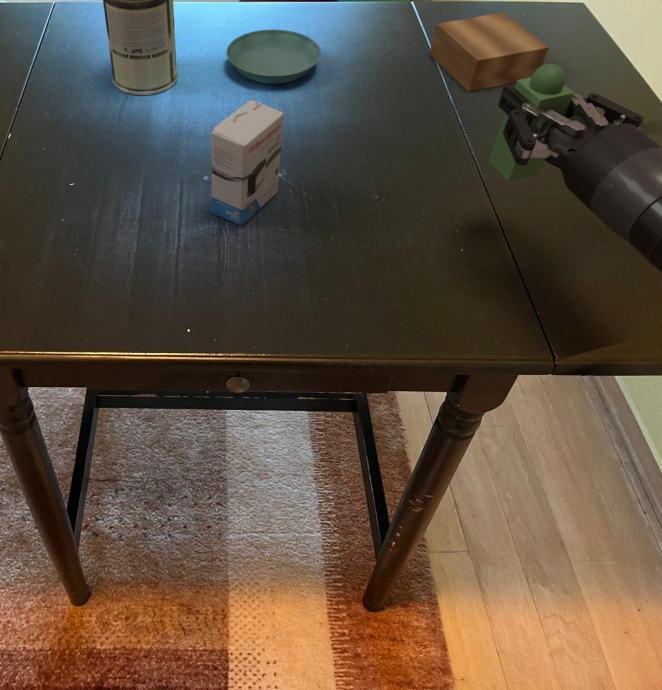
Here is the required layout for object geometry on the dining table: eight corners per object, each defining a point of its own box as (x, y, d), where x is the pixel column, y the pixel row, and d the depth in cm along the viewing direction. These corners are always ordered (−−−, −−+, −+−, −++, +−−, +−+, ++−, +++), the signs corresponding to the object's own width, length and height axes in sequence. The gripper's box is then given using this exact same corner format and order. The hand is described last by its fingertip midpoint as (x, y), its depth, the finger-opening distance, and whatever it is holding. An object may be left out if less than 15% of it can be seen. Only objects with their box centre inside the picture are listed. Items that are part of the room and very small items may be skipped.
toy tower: (518, 154, 79) (559, 52, 70) (539, 175, 77) (583, 72, 67) (487, 161, 78) (524, 59, 69) (507, 182, 76) (548, 79, 66)
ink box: (241, 227, 84) (244, 145, 75) (209, 212, 86) (208, 130, 77) (279, 192, 89) (286, 111, 80) (248, 179, 91) (252, 97, 82)
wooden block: (494, 42, 113) (503, 12, 109) (537, 78, 106) (549, 47, 102) (428, 54, 111) (436, 23, 107) (468, 92, 104) (478, 60, 100)
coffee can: (101, 72, 109) (88, -21, 98) (159, 56, 112) (153, -36, 101) (129, 103, 103) (119, 7, 92) (189, 84, 106) (186, -10, 95)
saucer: (292, 37, 115) (293, 21, 113) (336, 79, 106) (338, 62, 104) (211, 55, 112) (211, 39, 110) (250, 100, 103) (250, 83, 101)
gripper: (548, 233, 64) (454, 133, 75) (675, 202, 67) (566, 109, 77) (581, 166, 58) (474, 67, 69) (719, 135, 61) (595, 45, 71)
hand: (523, 90), depth 73 cm, fingers closed on toy tower, 4 cm apart
